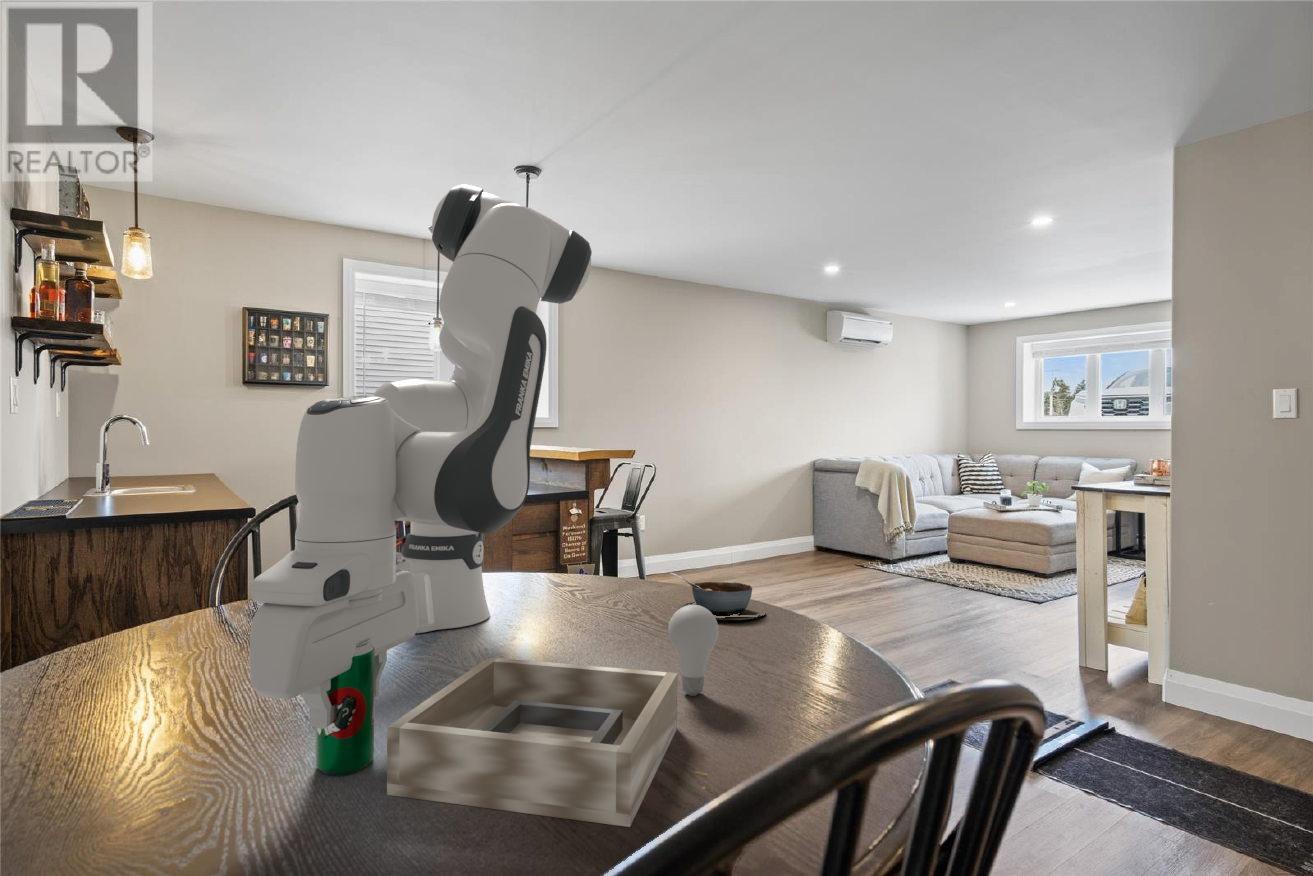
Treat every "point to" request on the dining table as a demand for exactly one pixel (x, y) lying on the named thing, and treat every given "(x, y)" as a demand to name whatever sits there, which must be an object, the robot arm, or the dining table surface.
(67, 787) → the dining table surface
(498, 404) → the robot arm
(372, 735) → the soda can
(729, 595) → the soup bowl
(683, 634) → the lightbulb
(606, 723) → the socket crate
